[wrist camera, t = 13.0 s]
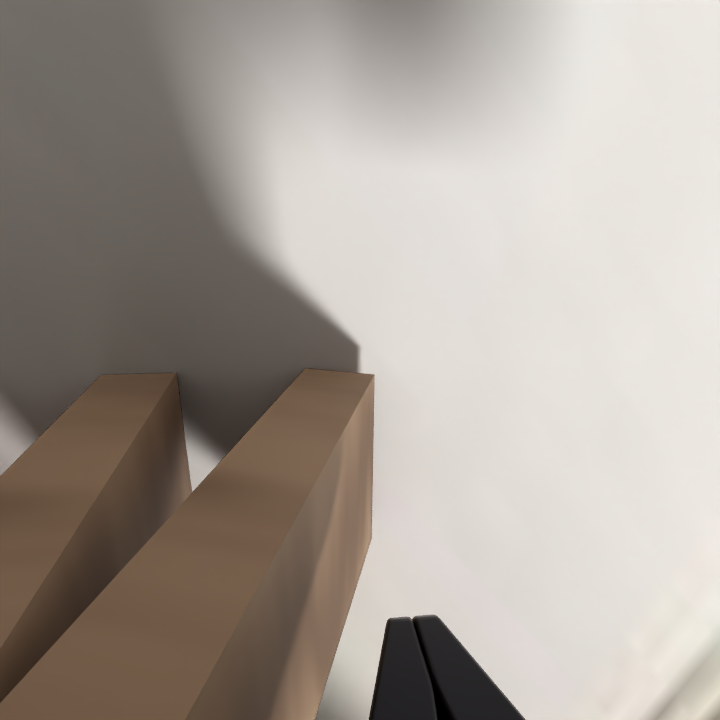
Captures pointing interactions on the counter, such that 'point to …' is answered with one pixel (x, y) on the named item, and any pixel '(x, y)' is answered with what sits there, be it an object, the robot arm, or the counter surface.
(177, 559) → the domino
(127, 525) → the domino
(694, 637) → the counter surface
